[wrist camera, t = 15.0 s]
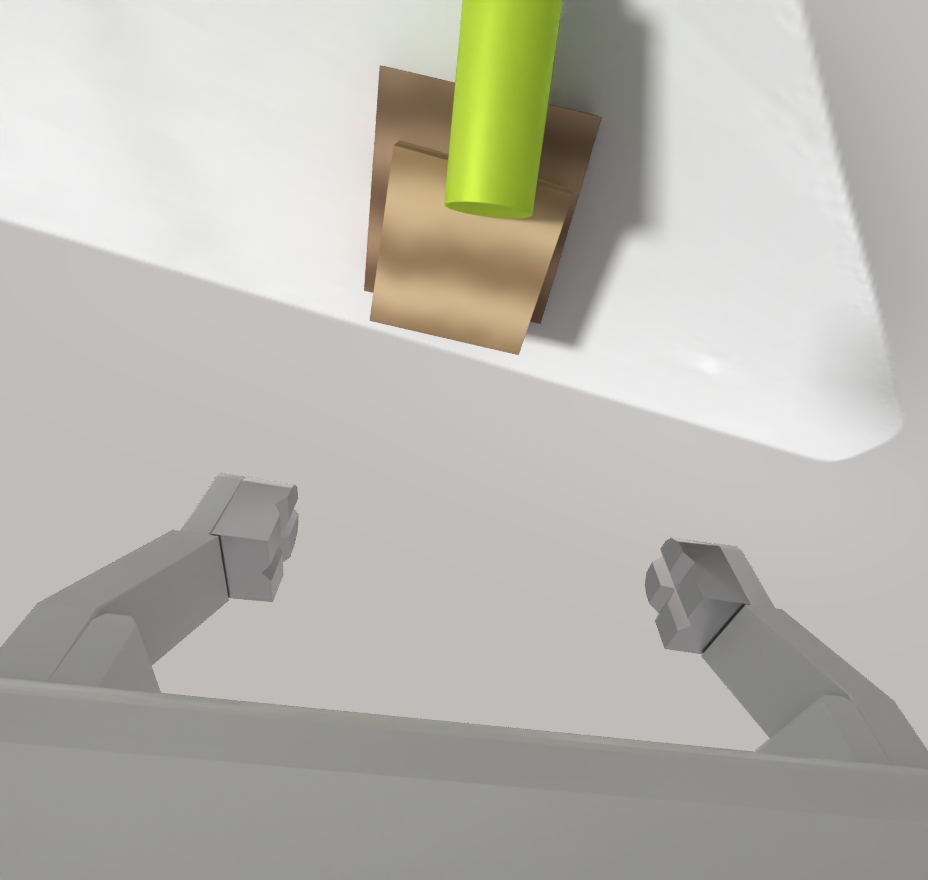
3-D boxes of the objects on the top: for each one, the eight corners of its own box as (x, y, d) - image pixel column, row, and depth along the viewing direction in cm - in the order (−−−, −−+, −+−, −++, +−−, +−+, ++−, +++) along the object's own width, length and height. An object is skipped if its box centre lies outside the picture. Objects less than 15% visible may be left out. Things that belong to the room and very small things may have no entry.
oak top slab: (399, 140, 36) (393, 145, 34) (565, 186, 38) (572, 195, 35) (376, 305, 44) (369, 320, 41) (515, 337, 46) (518, 355, 43)
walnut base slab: (386, 66, 37) (379, 65, 34) (592, 114, 38) (601, 117, 35) (370, 277, 46) (364, 290, 43) (536, 309, 48) (540, 323, 45)
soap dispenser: (519, 223, 37) (566, -122, 31) (541, 210, 30) (605, -230, 24) (441, 212, 36) (473, -142, 30) (446, 197, 30) (488, -259, 24)
